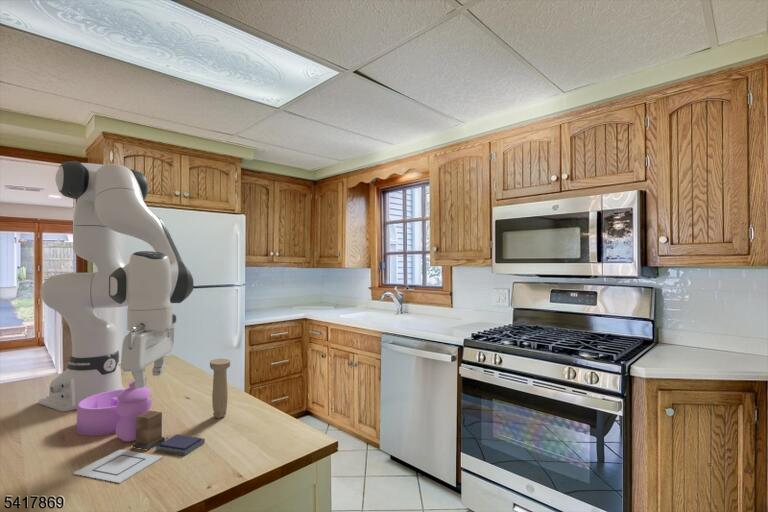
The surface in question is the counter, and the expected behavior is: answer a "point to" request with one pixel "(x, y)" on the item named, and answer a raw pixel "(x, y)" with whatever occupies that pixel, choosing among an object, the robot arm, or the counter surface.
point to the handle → (219, 386)
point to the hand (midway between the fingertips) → (149, 380)
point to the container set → (113, 412)
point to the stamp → (148, 430)
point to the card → (118, 466)
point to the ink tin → (180, 444)
